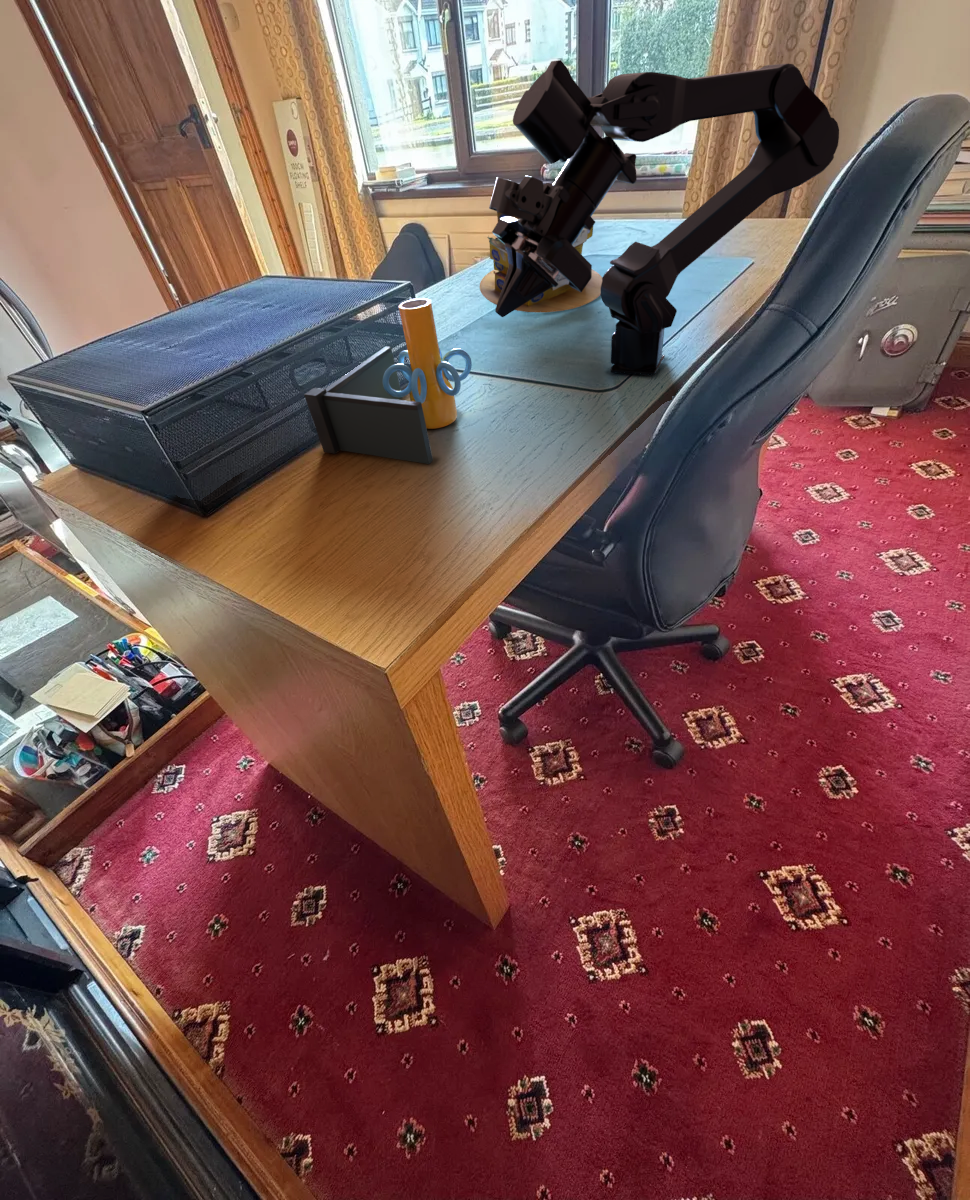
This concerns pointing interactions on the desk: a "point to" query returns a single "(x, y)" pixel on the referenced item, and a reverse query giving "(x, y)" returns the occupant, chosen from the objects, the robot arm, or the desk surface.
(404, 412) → the corner bracket
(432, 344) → the cylinder
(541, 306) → the stacked yellow boxes
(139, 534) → the desk surface
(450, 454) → the desk surface
